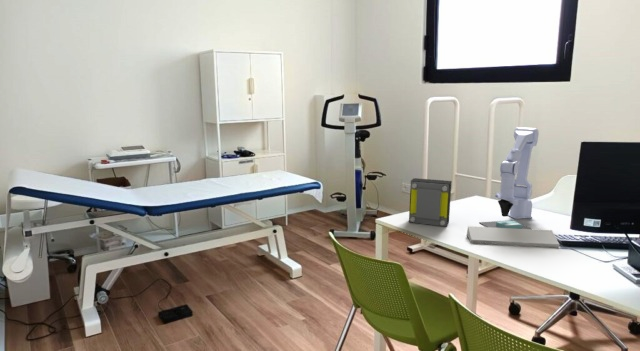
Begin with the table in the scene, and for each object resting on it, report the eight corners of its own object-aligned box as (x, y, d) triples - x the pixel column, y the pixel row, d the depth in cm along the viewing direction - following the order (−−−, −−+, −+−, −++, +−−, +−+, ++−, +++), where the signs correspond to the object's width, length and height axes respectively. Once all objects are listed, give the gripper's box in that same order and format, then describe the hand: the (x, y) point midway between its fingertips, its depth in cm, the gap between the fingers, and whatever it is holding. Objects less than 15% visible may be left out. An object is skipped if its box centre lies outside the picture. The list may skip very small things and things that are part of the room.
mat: (512, 220, 220) (512, 220, 220) (532, 229, 207) (532, 228, 207) (479, 223, 216) (479, 222, 216) (496, 232, 203) (497, 231, 203)
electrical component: (407, 223, 215) (409, 181, 212) (412, 217, 225) (414, 177, 221) (446, 227, 209) (449, 185, 205) (449, 221, 218) (451, 180, 214)
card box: (513, 220, 213) (522, 224, 207) (513, 224, 214) (521, 228, 208) (496, 221, 211) (504, 225, 205) (496, 225, 212) (504, 229, 206)
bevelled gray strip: (557, 254, 186) (549, 239, 195) (559, 244, 184) (551, 230, 193) (470, 249, 191) (466, 235, 200) (471, 239, 189) (468, 226, 197)
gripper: (490, 184, 215) (487, 212, 218) (509, 191, 201) (506, 221, 204) (503, 183, 217) (501, 211, 219) (523, 190, 203) (520, 220, 206)
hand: (504, 216), depth 212 cm, fingers closed
